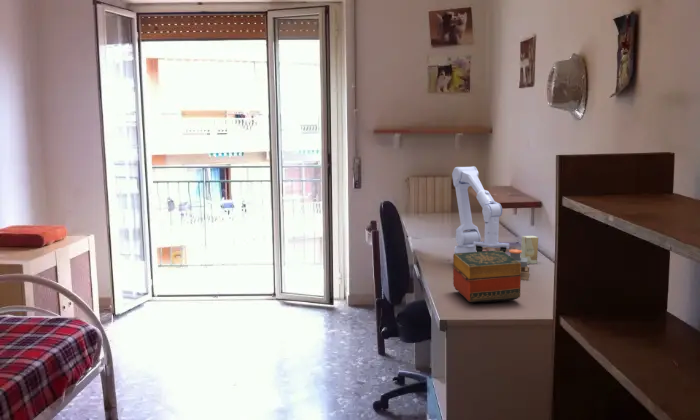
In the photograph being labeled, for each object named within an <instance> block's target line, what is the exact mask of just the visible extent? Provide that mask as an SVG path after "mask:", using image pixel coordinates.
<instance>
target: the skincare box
mask: <svg viewBox="0 0 700 420" xmlns="http://www.w3.org/2000/svg"><path fill="white" fill-rule="evenodd" d="M520 250H522V253H520V258H528V259H527V265H528V264H529V265H530V264H531V265H533V264H535V263H536V264H537V263H538V252H539V251H538V250H539V236H535V235H521V245H520ZM536 264H535V265H536Z"/></svg>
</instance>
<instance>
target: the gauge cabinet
mask: <svg viewBox="0 0 700 420" xmlns="http://www.w3.org/2000/svg"><path fill="white" fill-rule="evenodd" d="M527 259H528V258H521V257H520V261H518V262H520V263H521V267H526V266H528V264H527ZM516 261H517V260H516Z"/></svg>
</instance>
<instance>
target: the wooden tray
mask: <svg viewBox="0 0 700 420" xmlns="http://www.w3.org/2000/svg"><path fill="white" fill-rule="evenodd" d="M520 276H521V281H529V280H530V266H528V265H527V266H526V267H521V275H520Z"/></svg>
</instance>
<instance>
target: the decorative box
mask: <svg viewBox="0 0 700 420" xmlns="http://www.w3.org/2000/svg"><path fill="white" fill-rule="evenodd" d="M452 257H453V259H452V260H453V261H452V263H453V266H452V268H453V269H452V270H453V272H452V274H453V275H452V276H453V277H452V280H453V281H452V282H453V283H452V284H453V287H454V289H455V290H456V291H458V293H459V294H460V295H461V296H462V297H463V298H464V299H466V301H467V302H469V303H496V302H498V301H499V302H500V301H501V302H503V301H505V302H507V301H513V300H517V299H519V298H520V297H521V281H522V280H521V276H520V275H521V263H520V262H518V261H516V260H515V259H514V258H512V257H510V254H507V253H506V252H505V253H504V252H503V251H500V249H499V250H486V251H485V250H482V252H477V251H476V252H468V253H455V252H454V253H453V256H452Z"/></svg>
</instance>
